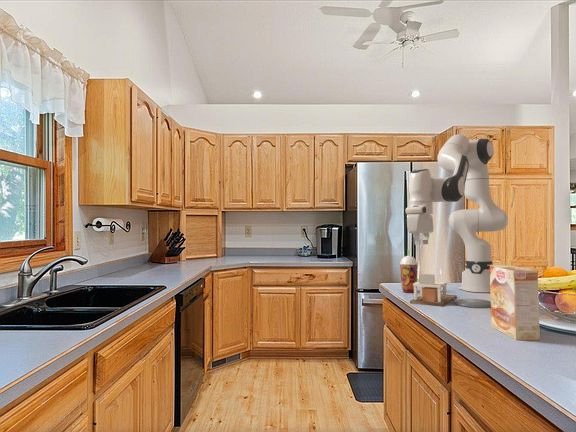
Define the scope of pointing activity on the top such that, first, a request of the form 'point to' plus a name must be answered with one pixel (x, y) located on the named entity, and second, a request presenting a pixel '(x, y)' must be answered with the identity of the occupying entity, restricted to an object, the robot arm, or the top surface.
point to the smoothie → (408, 273)
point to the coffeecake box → (515, 301)
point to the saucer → (473, 303)
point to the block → (430, 294)
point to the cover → (429, 285)
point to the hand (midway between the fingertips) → (421, 244)
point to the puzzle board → (442, 303)
